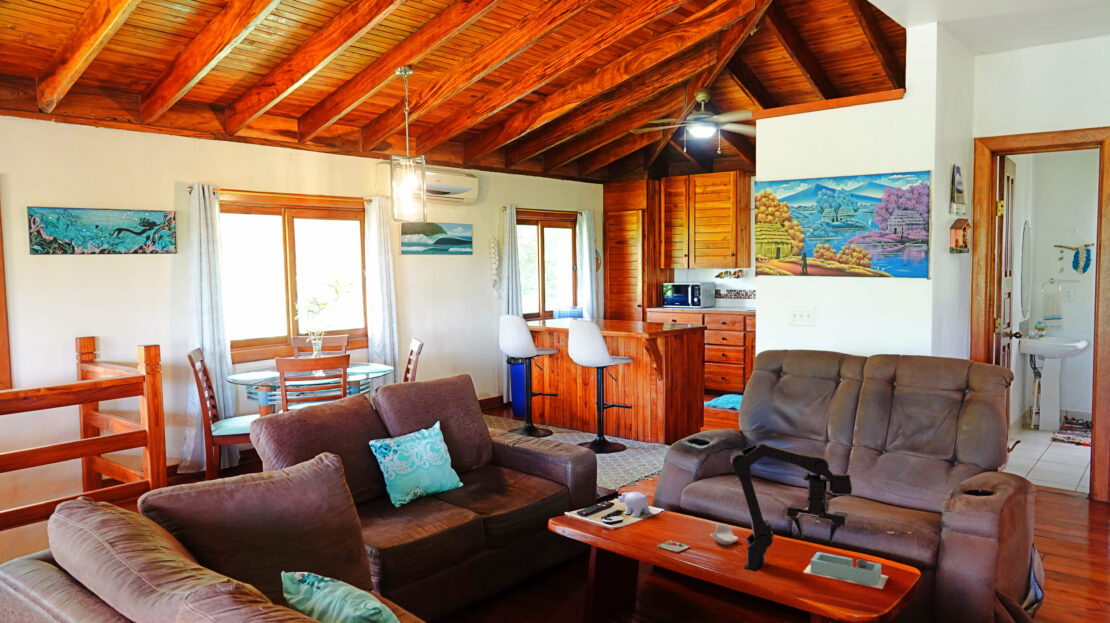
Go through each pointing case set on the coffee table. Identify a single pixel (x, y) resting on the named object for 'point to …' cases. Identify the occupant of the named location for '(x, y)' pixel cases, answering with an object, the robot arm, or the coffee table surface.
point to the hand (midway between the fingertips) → (816, 540)
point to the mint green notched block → (845, 568)
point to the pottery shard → (724, 535)
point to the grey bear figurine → (635, 503)
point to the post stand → (861, 564)
